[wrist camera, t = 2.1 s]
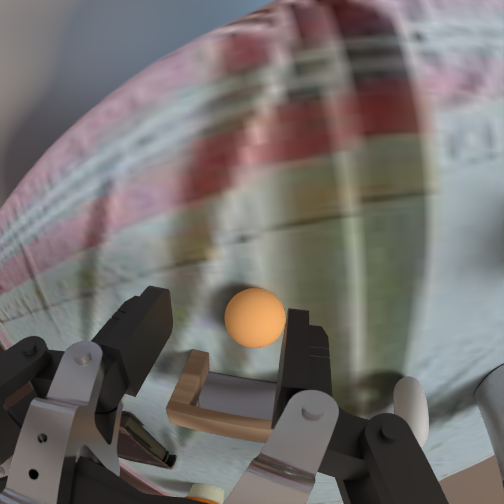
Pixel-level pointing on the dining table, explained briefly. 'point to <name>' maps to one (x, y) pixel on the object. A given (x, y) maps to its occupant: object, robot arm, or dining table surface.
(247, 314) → the ball
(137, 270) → the dining table surface
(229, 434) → the bridge
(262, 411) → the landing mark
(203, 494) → the reusable coffee cup
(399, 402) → the donut
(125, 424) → the diary
